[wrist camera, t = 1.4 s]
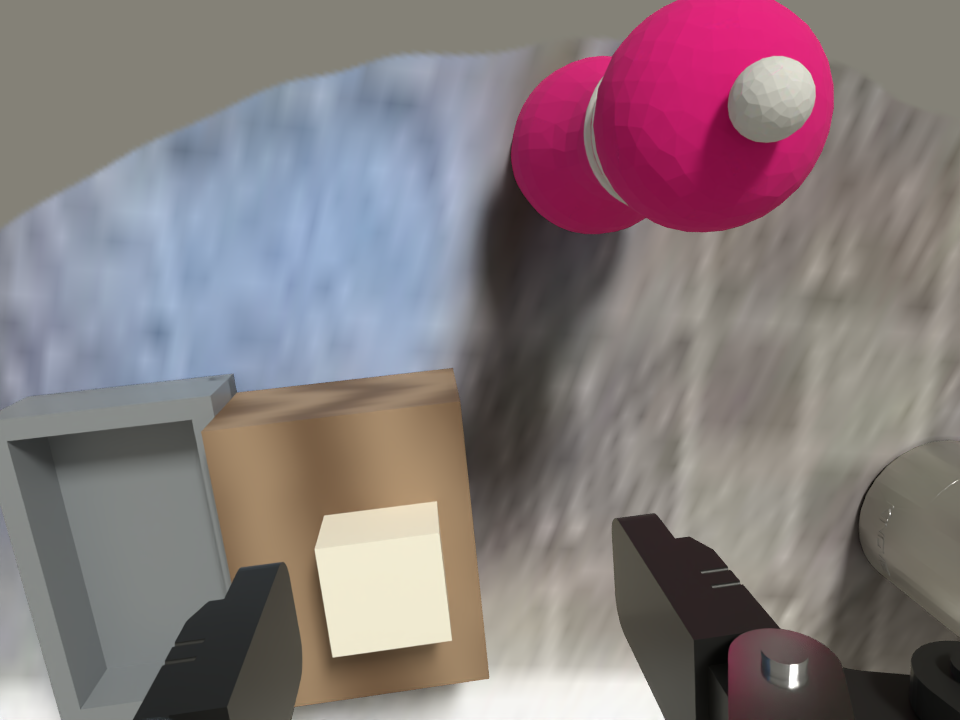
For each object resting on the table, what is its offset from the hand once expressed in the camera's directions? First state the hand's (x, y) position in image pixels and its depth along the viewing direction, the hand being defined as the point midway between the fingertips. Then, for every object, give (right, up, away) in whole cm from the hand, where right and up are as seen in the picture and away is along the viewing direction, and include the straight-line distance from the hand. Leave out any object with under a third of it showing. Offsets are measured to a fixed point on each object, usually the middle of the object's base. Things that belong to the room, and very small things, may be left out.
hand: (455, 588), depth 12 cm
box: (-16, -5, +24) cm, 29 cm away
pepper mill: (+5, +14, +22) cm, 26 cm away
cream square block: (-4, -5, +19) cm, 20 cm away
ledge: (-6, -4, +25) cm, 26 cm away
